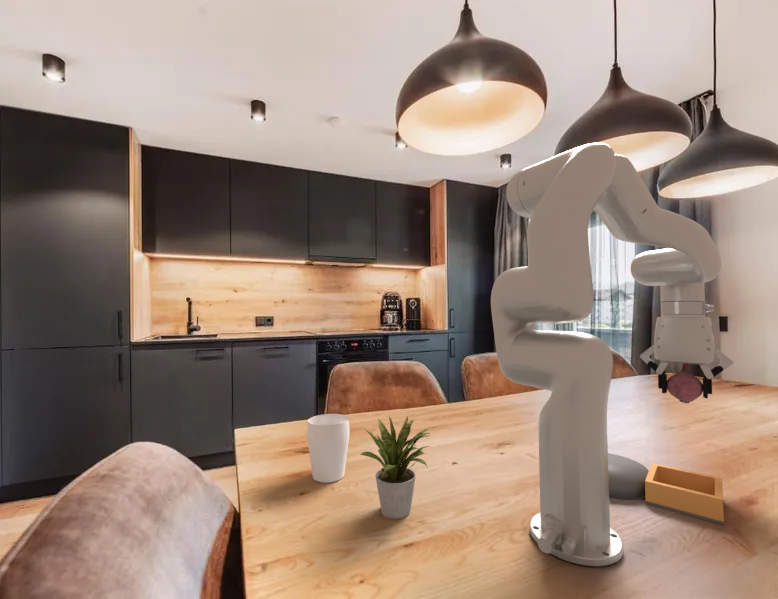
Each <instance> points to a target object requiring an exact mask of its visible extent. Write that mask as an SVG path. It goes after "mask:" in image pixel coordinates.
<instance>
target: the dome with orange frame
mask: <svg viewBox="0 0 778 599" xmlns="http://www.w3.org/2000/svg"><path fill="white" fill-rule="evenodd" d="M608 475H609V498H612V497H613V499H618V498H619V500H620V499H621V500H638V498H639V499H643V498H645V504H647V505H649V506H654V507H657V508H661V509H664V510H668V511H672V512H675V513H678V514H682V515H686V516H690V517H693V518H696V519H697V518H698V519H701V520H704V521H708V522H711V523H715V524H719V525H722V526H725V517H724V516H725V513H724V512H725V511H724V494H723V493H724V491H723V477H720V476H716V475H710V474H706V473H700V472H697V471H691V470H687V469H683V468H678V467H674V466H673V467H672V466H668V465H663V464H659V463H654V462H651V465H650V467H649V469H648V468H647V467H646V466H645V465H644V464H642V463H640V462H638V461H636V460H633V459H631V458H629V457H625V456H622V455H619V454H613V453H609V452H608Z"/></svg>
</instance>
